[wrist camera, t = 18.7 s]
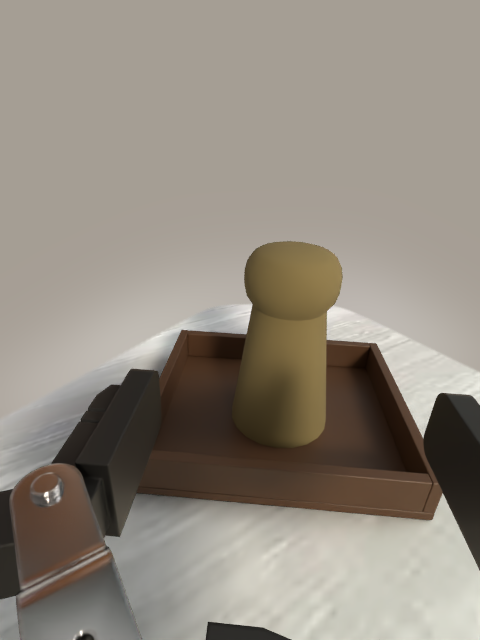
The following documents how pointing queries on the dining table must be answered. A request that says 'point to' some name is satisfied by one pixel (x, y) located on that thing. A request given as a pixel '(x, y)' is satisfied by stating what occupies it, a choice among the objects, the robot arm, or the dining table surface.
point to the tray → (290, 463)
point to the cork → (286, 344)
